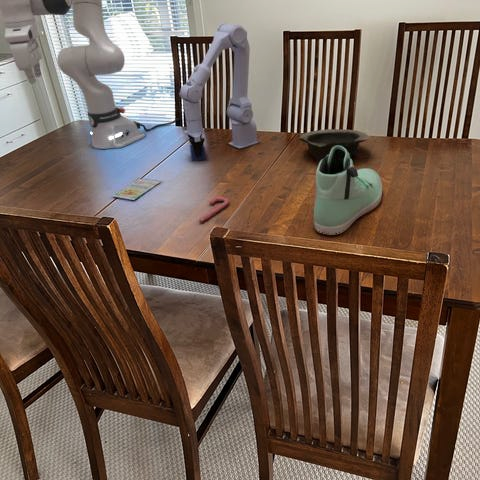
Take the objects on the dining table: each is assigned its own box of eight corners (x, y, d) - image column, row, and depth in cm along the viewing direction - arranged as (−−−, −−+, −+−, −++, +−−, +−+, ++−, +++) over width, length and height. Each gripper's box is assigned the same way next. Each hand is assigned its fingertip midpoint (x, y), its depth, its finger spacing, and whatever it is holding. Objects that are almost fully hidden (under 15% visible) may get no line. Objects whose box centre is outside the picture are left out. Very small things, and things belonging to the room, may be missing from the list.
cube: (191, 156, 183) (189, 144, 180) (204, 154, 183) (203, 143, 181) (192, 161, 179) (190, 149, 176) (205, 159, 179) (204, 147, 177)
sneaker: (389, 187, 148) (396, 123, 138) (356, 242, 123) (361, 168, 112) (346, 181, 154) (350, 119, 144) (306, 232, 129) (307, 161, 118)
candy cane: (186, 219, 140) (185, 215, 139) (217, 198, 150) (217, 194, 149) (202, 224, 137) (201, 219, 136) (233, 202, 147) (232, 198, 146)
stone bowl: (326, 173, 160) (325, 146, 155) (286, 156, 180) (285, 132, 176) (384, 155, 168) (385, 129, 164) (340, 141, 189) (339, 117, 184)
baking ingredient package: (111, 195, 156) (139, 178, 167) (112, 196, 156) (139, 179, 168) (133, 199, 152) (160, 181, 164) (133, 200, 153) (160, 182, 164)
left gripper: (18, 28, 150) (31, 73, 157) (2, 37, 132) (18, 88, 140) (39, 26, 150) (51, 71, 158) (26, 35, 133) (40, 86, 140)
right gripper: (181, 114, 179) (185, 148, 186) (184, 125, 167) (189, 162, 174) (199, 111, 180) (203, 146, 187) (204, 123, 167) (208, 159, 175)
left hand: (35, 79), depth 148 cm, fingers open, 8 cm apart
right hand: (198, 153), depth 180 cm, fingers closed on cube, 5 cm apart
